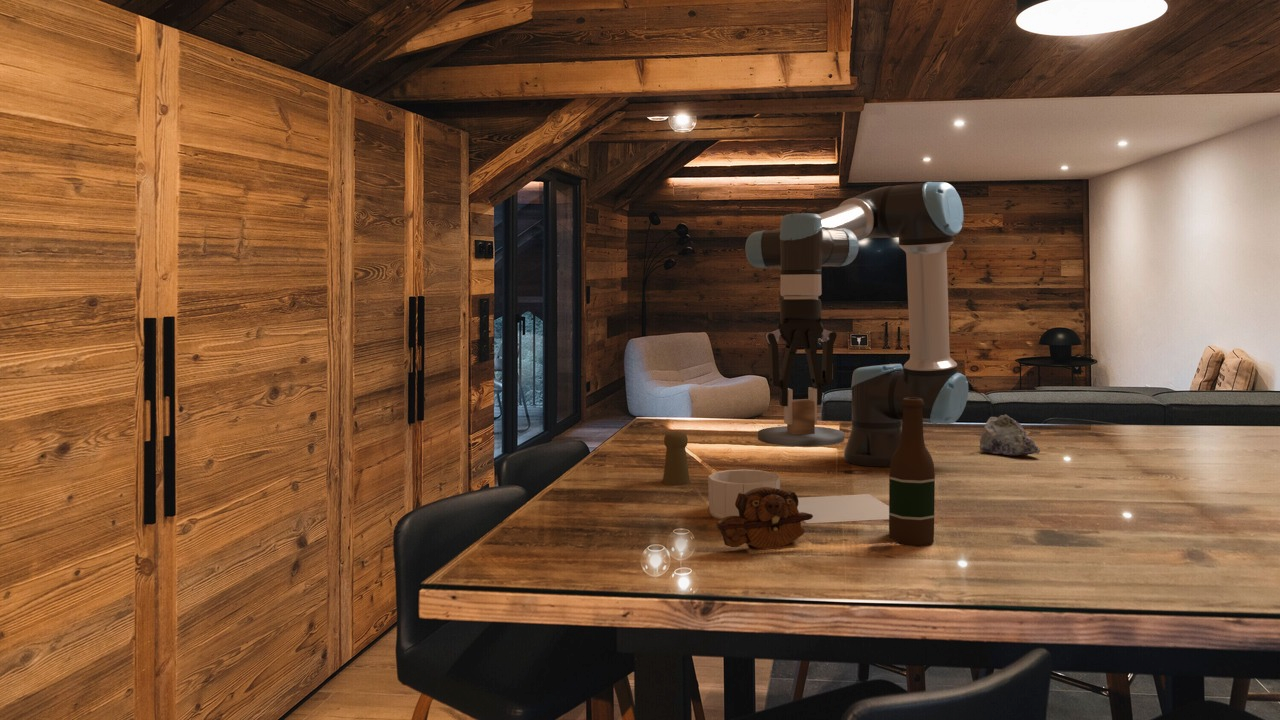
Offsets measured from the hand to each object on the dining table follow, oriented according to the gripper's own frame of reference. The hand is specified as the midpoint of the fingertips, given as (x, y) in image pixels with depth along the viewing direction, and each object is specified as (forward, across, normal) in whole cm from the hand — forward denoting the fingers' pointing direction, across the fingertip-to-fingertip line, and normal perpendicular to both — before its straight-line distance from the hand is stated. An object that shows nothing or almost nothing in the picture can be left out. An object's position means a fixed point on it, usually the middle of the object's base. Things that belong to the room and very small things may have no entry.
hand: (800, 422), depth 173 cm
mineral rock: (+17, -67, -42) cm, 81 cm away
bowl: (+17, +10, -2) cm, 20 cm away
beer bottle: (+17, -12, +22) cm, 30 cm away
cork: (+17, +18, -31) cm, 40 cm away
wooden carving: (+18, +13, +21) cm, 30 cm away
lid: (+3, 0, 0) cm, 3 cm away
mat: (+17, -8, +1) cm, 19 cm away
